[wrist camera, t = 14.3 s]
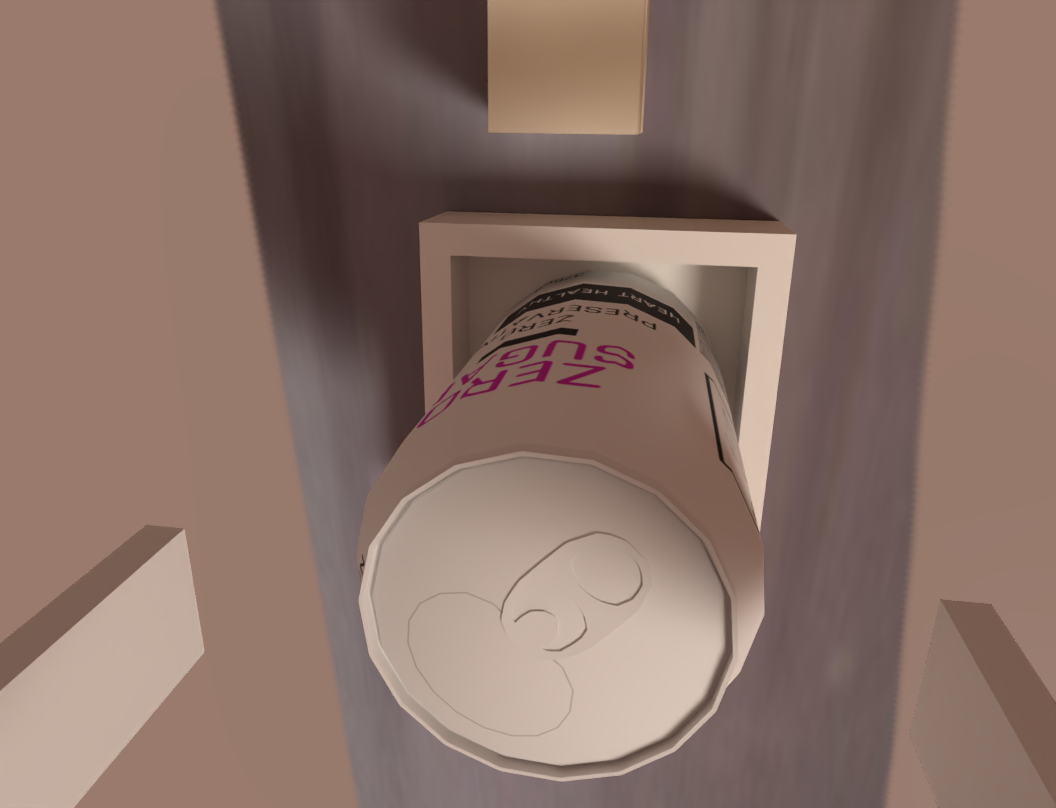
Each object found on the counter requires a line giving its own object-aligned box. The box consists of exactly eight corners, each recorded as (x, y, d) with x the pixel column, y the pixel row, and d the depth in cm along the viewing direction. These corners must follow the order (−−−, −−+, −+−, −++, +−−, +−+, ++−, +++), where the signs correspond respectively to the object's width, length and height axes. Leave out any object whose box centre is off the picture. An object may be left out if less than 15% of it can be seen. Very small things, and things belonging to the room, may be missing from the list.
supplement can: (601, 526, 30) (549, 868, 16) (444, 375, 29) (246, 604, 15) (768, 386, 28) (877, 656, 14) (601, 216, 27) (534, 317, 13)
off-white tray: (446, 211, 28) (418, 222, 25) (779, 221, 27) (796, 234, 23) (452, 502, 32) (429, 544, 29) (744, 526, 30) (754, 574, 27)
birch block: (525, 0, 26) (487, -35, 20) (650, -1, 25) (646, -38, 20) (524, 131, 27) (488, 132, 21) (642, 132, 26) (637, 134, 21)
